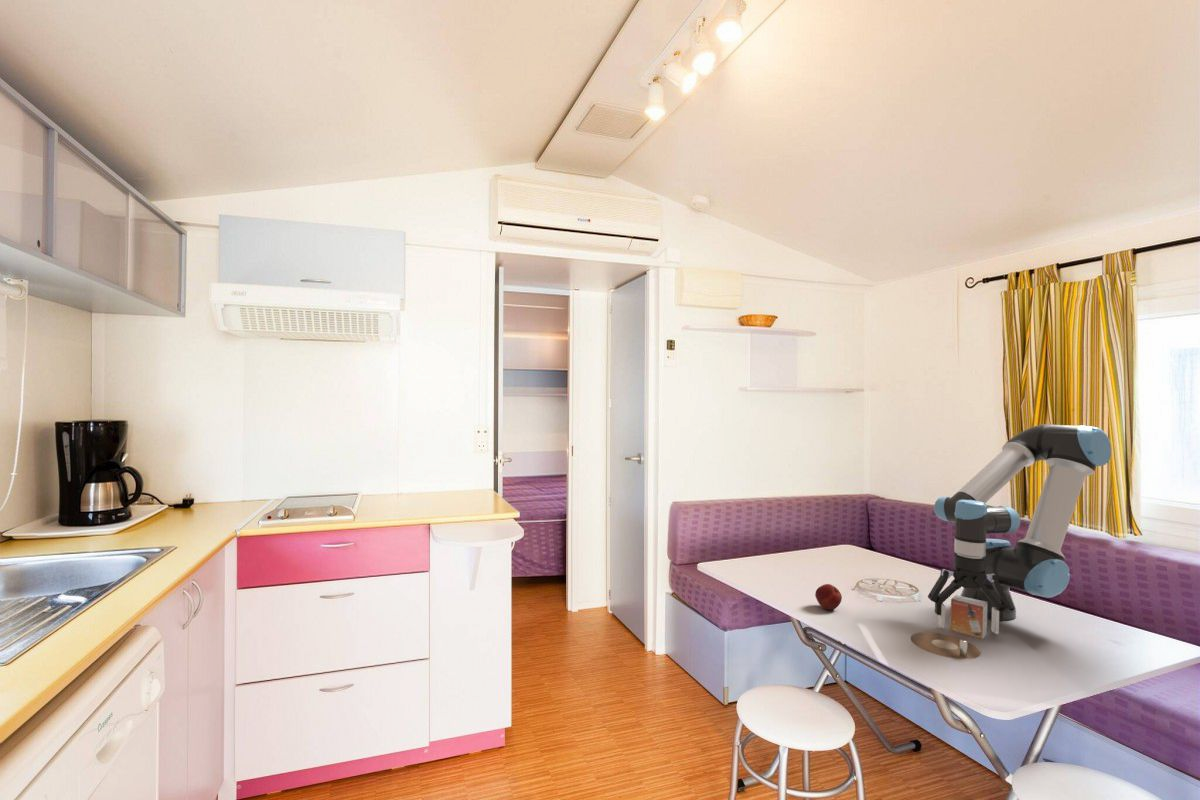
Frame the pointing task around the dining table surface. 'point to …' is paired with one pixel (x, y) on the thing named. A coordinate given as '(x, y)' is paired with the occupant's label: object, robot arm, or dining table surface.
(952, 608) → the small box
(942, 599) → the robot arm
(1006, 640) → the dining table surface
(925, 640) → the flange base
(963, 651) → the stop pin
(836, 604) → the apple
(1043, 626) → the dining table surface
